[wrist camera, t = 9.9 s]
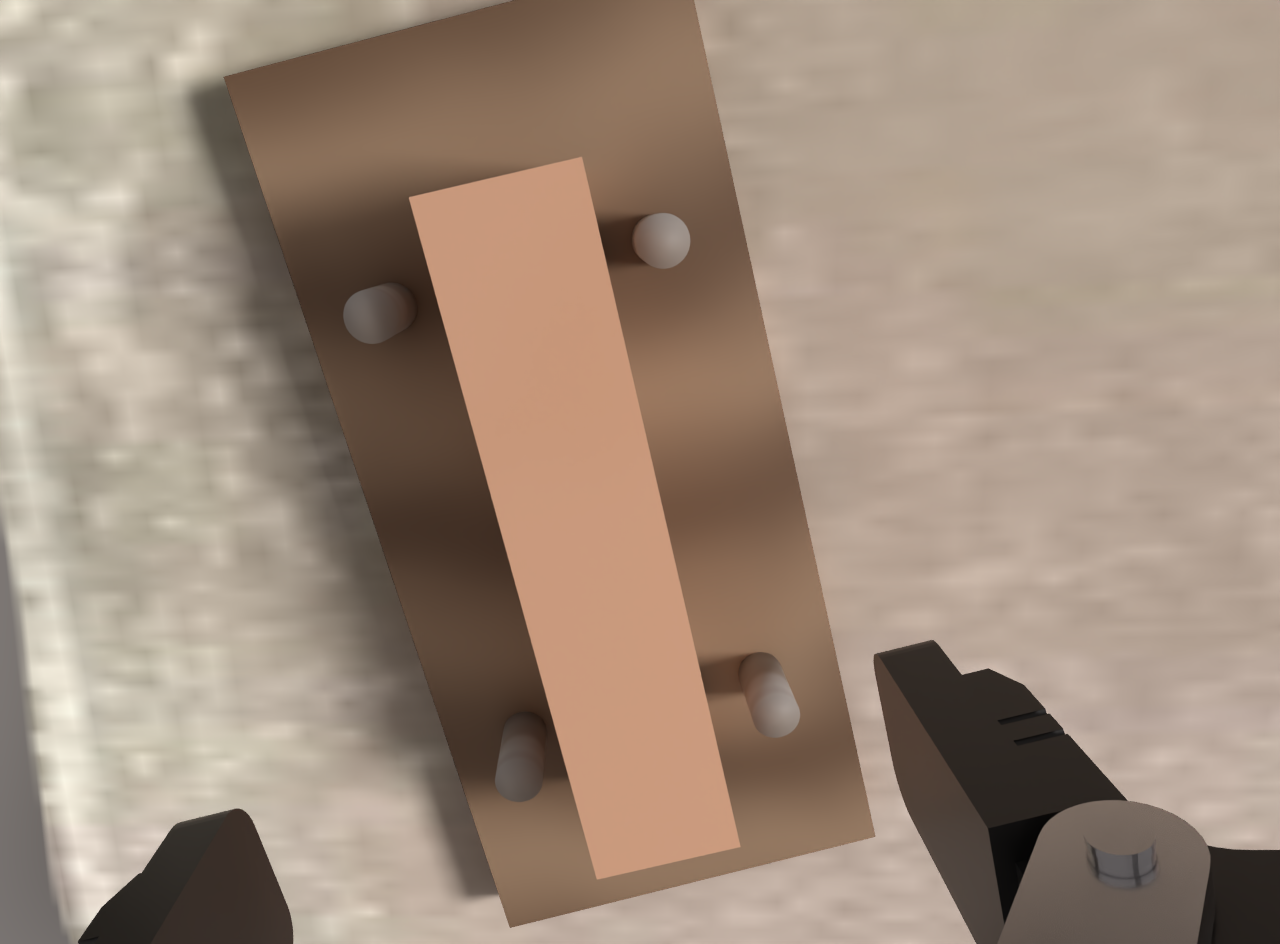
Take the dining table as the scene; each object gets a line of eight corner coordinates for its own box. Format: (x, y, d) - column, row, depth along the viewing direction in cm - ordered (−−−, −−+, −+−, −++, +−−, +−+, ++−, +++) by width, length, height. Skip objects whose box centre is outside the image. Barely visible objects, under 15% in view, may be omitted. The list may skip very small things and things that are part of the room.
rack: (245, 85, 24) (180, 59, 20) (678, -29, 24) (695, -77, 20) (513, 893, 30) (502, 992, 26) (861, 807, 30) (901, 893, 26)
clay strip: (442, 201, 24) (408, 197, 19) (583, 168, 24) (581, 156, 19) (595, 776, 28) (596, 879, 23) (716, 748, 28) (740, 846, 23)
